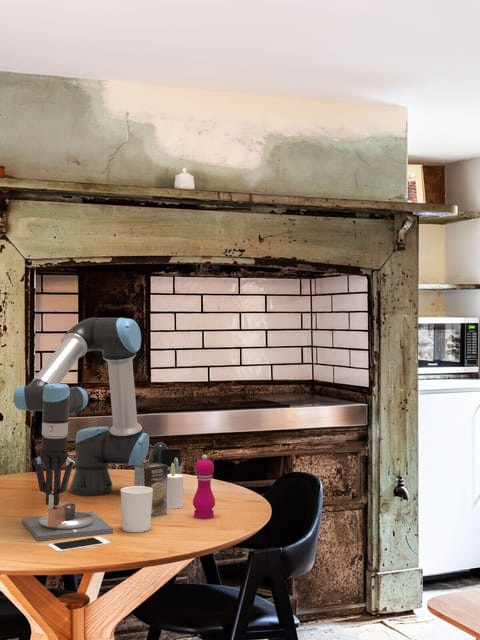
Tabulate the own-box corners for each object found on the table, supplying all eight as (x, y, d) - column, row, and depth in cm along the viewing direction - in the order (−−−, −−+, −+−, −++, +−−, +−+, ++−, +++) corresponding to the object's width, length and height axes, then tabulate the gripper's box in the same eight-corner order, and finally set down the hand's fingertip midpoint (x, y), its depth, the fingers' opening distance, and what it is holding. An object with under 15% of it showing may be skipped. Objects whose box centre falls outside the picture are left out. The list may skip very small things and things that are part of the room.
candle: (187, 506, 276) (187, 462, 276) (172, 509, 271) (173, 464, 271) (174, 503, 280) (175, 459, 280) (160, 506, 276) (161, 462, 275)
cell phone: (111, 544, 231) (111, 542, 231) (57, 553, 222) (57, 551, 222) (99, 538, 238) (99, 536, 238) (46, 546, 228) (46, 544, 228)
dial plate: (91, 516, 261) (91, 511, 261) (112, 533, 241) (112, 527, 241) (22, 522, 251) (22, 517, 251) (38, 541, 232) (38, 535, 232)
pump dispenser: (149, 478, 322) (150, 439, 322) (175, 479, 320) (176, 440, 320) (143, 483, 312) (143, 443, 312) (169, 484, 310) (170, 445, 310)
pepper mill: (218, 514, 266) (219, 453, 265) (210, 520, 259) (211, 457, 258) (197, 512, 268) (198, 452, 268) (189, 517, 261) (190, 455, 261)
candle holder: (138, 535, 240) (139, 494, 240) (113, 529, 245) (113, 490, 245) (159, 528, 248) (159, 488, 248) (134, 523, 254) (134, 484, 253)
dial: (54, 514, 256) (54, 494, 256) (101, 518, 252) (102, 498, 252) (26, 528, 239) (26, 507, 239) (76, 533, 235) (76, 511, 235)
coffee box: (145, 518, 259) (145, 468, 259) (132, 514, 264) (133, 465, 264) (167, 514, 266) (168, 464, 265) (155, 510, 270) (156, 462, 270)
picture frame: (179, 488, 304) (179, 448, 304) (188, 497, 291) (189, 455, 290) (156, 489, 301) (156, 449, 301) (164, 498, 288) (165, 455, 288)
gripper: (28, 437, 238) (26, 517, 238) (71, 439, 236) (68, 520, 236) (38, 433, 245) (36, 511, 245) (79, 435, 243) (77, 514, 244)
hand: (52, 515), depth 241 cm, fingers closed
